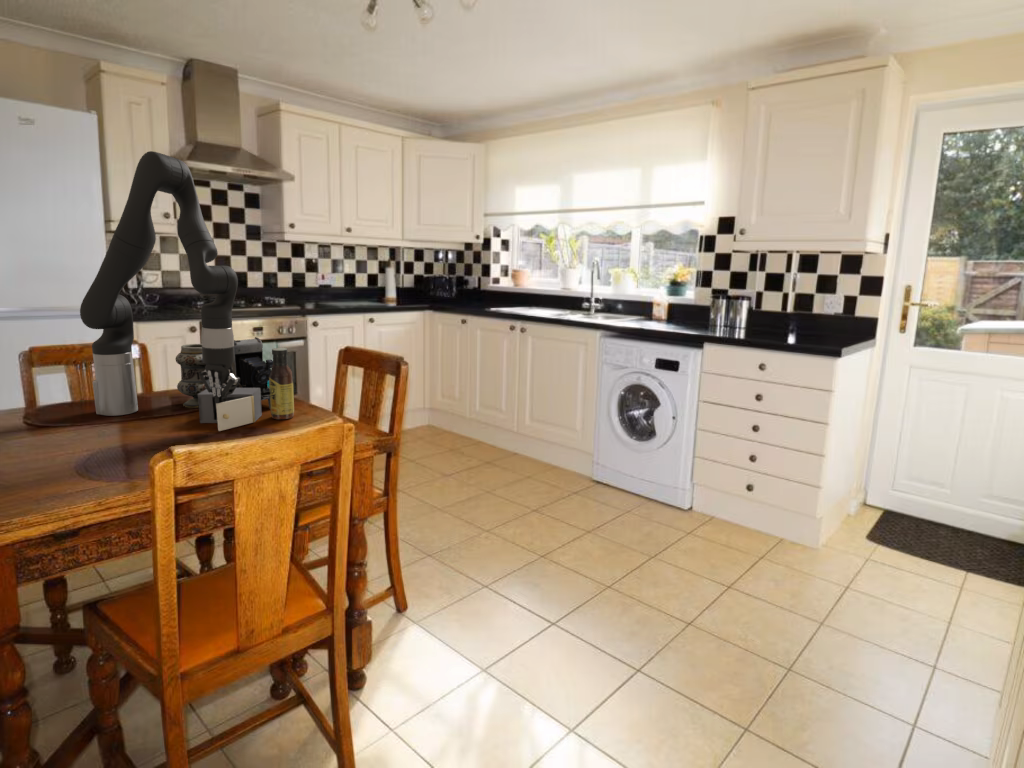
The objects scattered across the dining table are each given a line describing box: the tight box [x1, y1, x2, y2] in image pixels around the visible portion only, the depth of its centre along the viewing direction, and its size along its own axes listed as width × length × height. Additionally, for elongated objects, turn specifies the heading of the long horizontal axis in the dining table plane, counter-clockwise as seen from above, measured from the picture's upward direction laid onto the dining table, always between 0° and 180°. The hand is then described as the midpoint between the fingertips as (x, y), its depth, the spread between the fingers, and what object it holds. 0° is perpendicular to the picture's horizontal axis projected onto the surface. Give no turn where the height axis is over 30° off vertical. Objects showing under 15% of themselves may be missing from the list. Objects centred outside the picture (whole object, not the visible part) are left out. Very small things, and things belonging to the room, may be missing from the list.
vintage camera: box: [232, 336, 273, 410], centre depth 183 cm, size 10×16×20 cm, turn 53°
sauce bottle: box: [268, 347, 295, 421], centre depth 170 cm, size 7×6×20 cm
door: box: [216, 396, 256, 432], centre depth 161 cm, size 11×2×7 cm, turn 150°
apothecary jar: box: [175, 343, 207, 409], centre depth 183 cm, size 12×12×18 cm
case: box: [198, 388, 263, 424], centre depth 169 cm, size 14×8×8 cm, turn 97°
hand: (221, 409), depth 160 cm, fingers closed
